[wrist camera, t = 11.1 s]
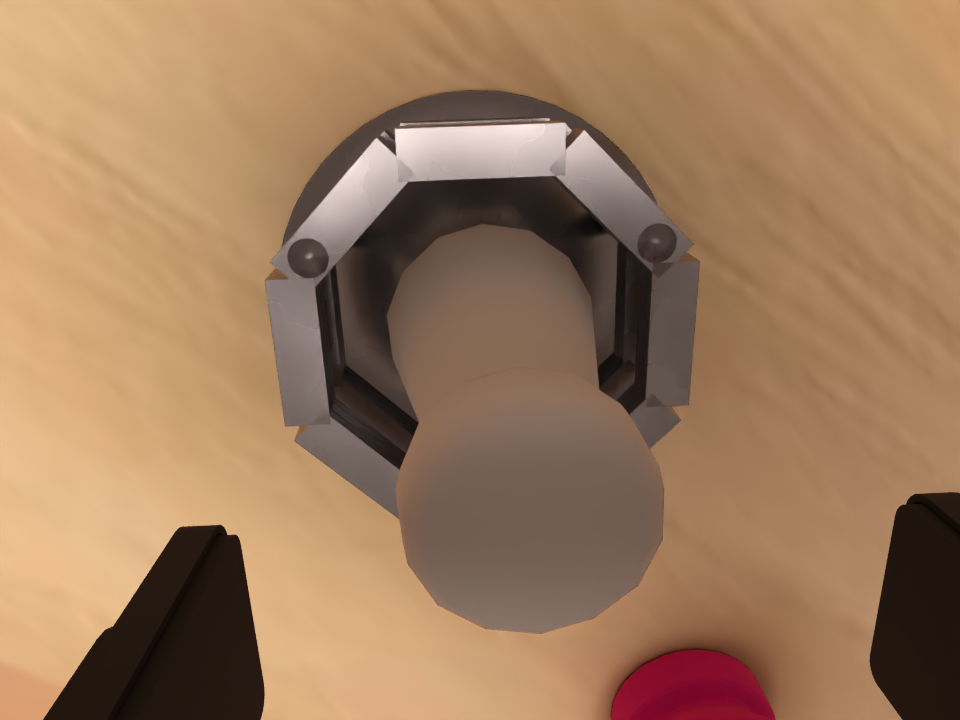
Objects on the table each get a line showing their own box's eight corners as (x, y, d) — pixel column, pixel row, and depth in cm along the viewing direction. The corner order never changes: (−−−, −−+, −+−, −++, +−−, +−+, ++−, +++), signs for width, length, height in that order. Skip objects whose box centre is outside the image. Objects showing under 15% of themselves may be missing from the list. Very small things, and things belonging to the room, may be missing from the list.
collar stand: (680, 83, 21) (745, 82, 17) (657, 456, 26) (703, 534, 21) (255, 97, 21) (206, 100, 16) (305, 476, 25) (277, 559, 21)
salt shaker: (607, 334, 23) (790, 601, 11) (454, 418, 24) (472, 754, 12) (519, 173, 22) (629, 287, 9) (356, 270, 22) (260, 493, 10)
